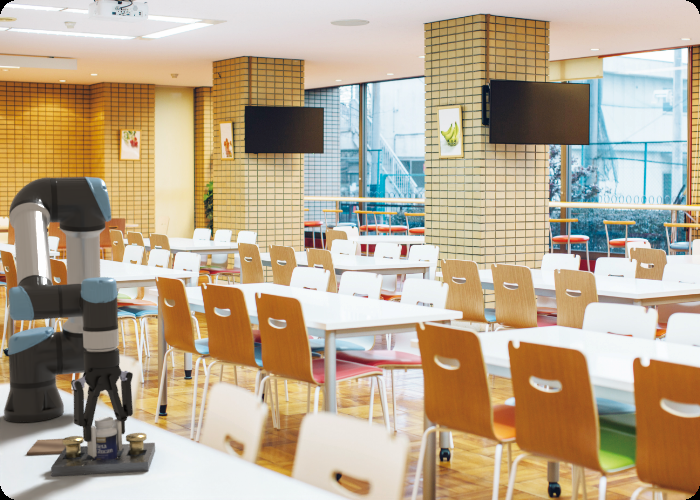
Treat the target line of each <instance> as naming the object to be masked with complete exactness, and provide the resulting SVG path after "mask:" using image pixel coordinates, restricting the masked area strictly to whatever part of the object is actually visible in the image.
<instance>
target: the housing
mask: <svg viewBox="0 0 700 500" xmlns="http://www.w3.org/2000/svg"><path fill="white" fill-rule="evenodd" d="M143 444H144V452H143V453H142V454H137V455H132V454H130V444H129V443H125V444H124V443H122V450H121V451H118V459H103V460H93V459H92V456H90V455H88V446H87V445H82V446H81V445H80V449H81V456H79V457H76V458H67V457H66V447H65V448H64V450H63V451H62V453H61V454H59V456H58V457H57V459H56V460H55V461H54V463H53V464H52V466H51V467H50V468H51V472H50V473H51V477H65V476H66V477H67V476H69V477H70V476H87V475H101V474H102V475H103V474H119V473H122V474H123V473H135V472H136V473H137V472H138V473H139V472H140V473H141V472H148V471H149V469H150V467H151V464H152V462H153V459H154V456H155V453H156V443H155V442H143Z"/></svg>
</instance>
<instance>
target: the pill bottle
mask: <svg viewBox="0 0 700 500" xmlns="http://www.w3.org/2000/svg"><path fill="white" fill-rule="evenodd" d="M113 425H114V418H113V417H112V416H100V417H97V418H95V419H94V427H95V428H96V455H97V456H96V457H92V460H103V459H119V458H118V448H117V429H116V428H115V427H113Z"/></svg>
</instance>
